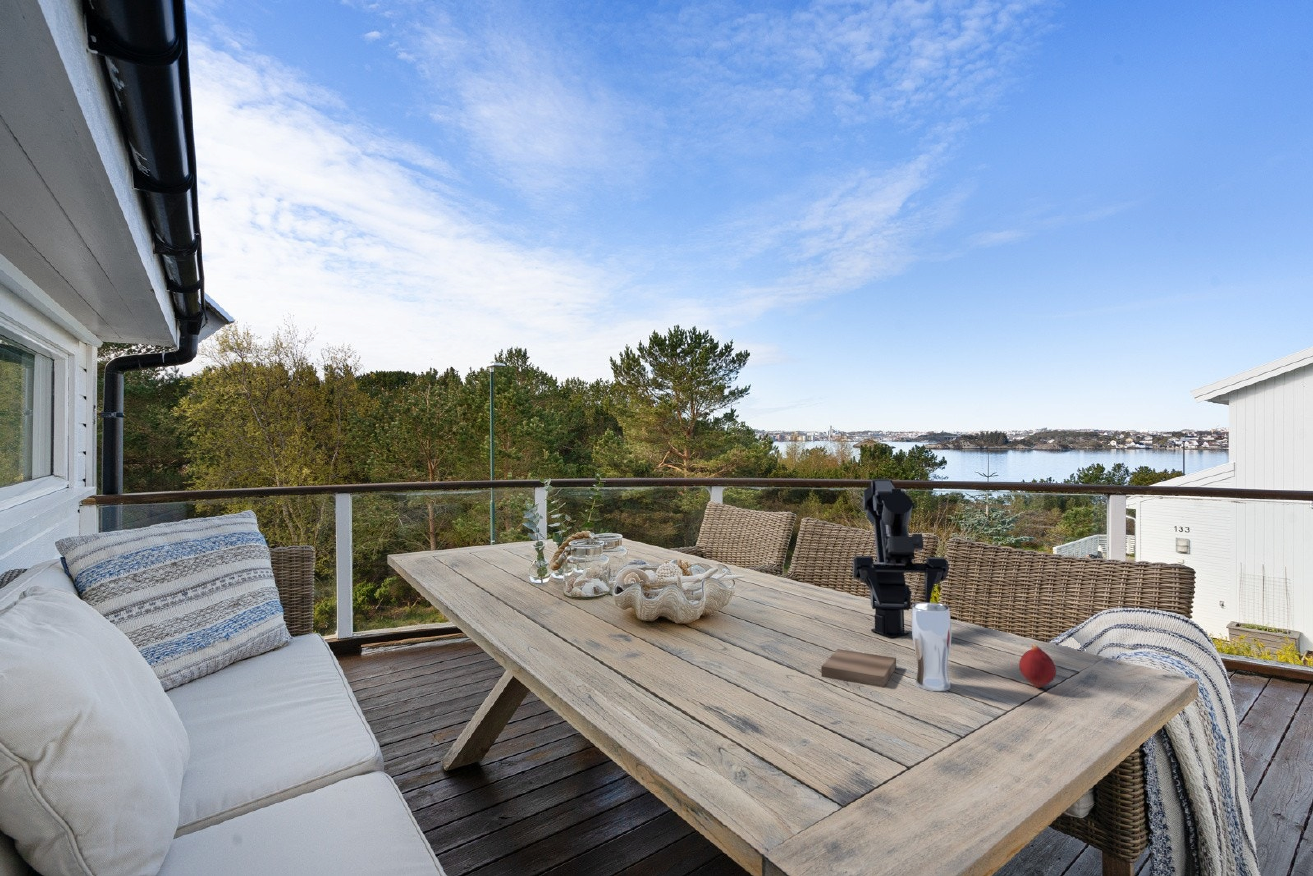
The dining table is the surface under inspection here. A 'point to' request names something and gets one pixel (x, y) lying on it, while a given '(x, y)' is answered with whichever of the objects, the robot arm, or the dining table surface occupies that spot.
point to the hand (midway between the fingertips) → (903, 605)
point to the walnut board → (859, 667)
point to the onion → (1037, 667)
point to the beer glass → (931, 645)
